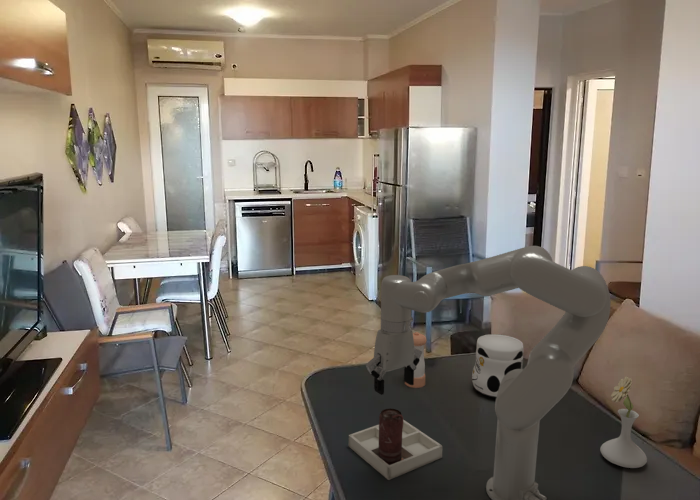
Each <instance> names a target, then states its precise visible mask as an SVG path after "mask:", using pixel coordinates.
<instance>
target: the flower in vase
mask: <svg viewBox="0 0 700 500" xmlns="http://www.w3.org/2000/svg"><path fill="white" fill-rule="evenodd" d="M632 381H633V379H632V377H630V378H629V376H624V378H621V379H619V382H618V383H617V385H616V386H614V387H613V390H614V391H612V393H611V395H610V398H611V401H612V402H614V403H619V402H621V401H622V400H623V399H624V400H623V405H624V407H625V408H620V409H618V410H617V414H618V415H619V416H620V419H621V431H620V435H619V436H618V437H615V438H612V439H609V440H607V441H605V442H604V443H602V444H601V445H600V449H599V451H600V453H601V456H602V457H604V459H606V460H607V461H608V462H610V463H612V464H614V465H617V466H620V467H623V468H626V469H627V468H628V469H629V468H630V469H638V468H642V467H643V466H645V465H646V464H647V463H648V457H647V455H646V453H645V452H644V451H643V449H642V448H640V446H638V445H637V444H636V443H635V442H634V441H633V439H632V438H631V432H632V427H633V424H634V422H635V421H636V420H637V419H638V418H639V417H640V415H639V413H638V412H637V411H635V410H633V409H634V405H633V403H632V401H631V399H630V396H629V393H630V390H631V389H632V385H633V382H632Z"/></svg>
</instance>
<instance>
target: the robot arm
mask: <svg viewBox="0 0 700 500" xmlns="http://www.w3.org/2000/svg"><path fill="white" fill-rule="evenodd" d="M517 289H520V290H521V291H522V292H523V293H524V292H525V293H526V294H527V295H530V296H532V297H533V298H536V299H538V300H539V301H541V302H544V303H546V304H549V305H550V306H553V307H555V308H557V309H558V310H561V311H563V312H564V313H563V316H561V318H560V319H559V320H558V321H557V323H556V324H555V325H554V326H553V328H552V329H550V331H548V332H547V334H546V335H545V336H544V337H543V338H541V340H539V342H538V343H537V344H535V346H533V348H532V349H531V351H530V352H529V356H528V360H527V363H526V365H525V367H524V368H522V369H515V370H512V371H510V372H508V373H507V374H506V375H505V376H504V377H503V379H502V381H501V383H500V386H499V390H498V394H497V397H496V398H495V403H494V411H495V414H496V418H497V423H496V434H495V436H496V437H495V448H494V462H493V463H494V465H493V476H491V477H490V478H489V479H488V480H487V482H486V484H485V488H486V489H485V490H486V493H487V496H488V497H489V499H491V500H547V496H545V495H543V494H542V493H540V490H539V483H537V481H535V478H536V467H537V456H538V446H539V445H538V443H539V436H540V435H539V434H540V422H541V420H542V419H543V418H544V417H545V416H546V415H547V414H548V413H549V412H550V411H551V410H552V409H553V408H554V407H555V406H556V404H558V403H559V402H560V401H561V400H562V399H563V397H565V396H566V394H568V391H569V390H570V388H571V386H572V385H573V382H574V373H575V372H574V371H575V367H576V365H577V364H578V362H579V361H580V360H581V359H582V358H583V357H584V356H585V355H586V353H588V351H589V350H590V349H591V347H592V346H594V344H595V343H596V342H597V340H598V339H599V338H600V337H601V335H602V334H603V332H604V331H605V329H606V326H607V324H608V322H609V319H610V313H611V305H612V304H611V293H610V291H609V288H608V284H607V283H606V280H605V278H604V277H603V275H602V274H601V272H599V271H598V270H597V269H596V268H594V267H591V266H588V265H579V266H577V267H575V268H573V269H570V268H567V267H566V266H563V265H560V264H559V263H556V262H554V261H553V258H552V255H551V254H550V252H548V251H547V249H545V248H544V247H541V246H538V245H529V246H524V247H520V248H517V249H515V250H511V251H507V252H504V253H500V254H496V255H494V256H490V257H487V258H483V259H479V260H476V261H470V262H468V263H467V262H466V263H462V264H456V265H453V266H449V267H446V268H443V269H442V268H441V269H438V270H435V271H432V272H430V273H427V274H425V275H423V276H422V277H420V278H419V279H418V280H416V281H412V279H410V278H409V277H408V276H405V275H399V274H391V275H390V274H389V275H386V276H384V277H383V278H382V280H381V288H380V291H381V292H380V329H378V330H377V333H376V335H375V336H376V337H375V342H374V351H373V358H371V359H370V360H369V361H368V362H366V364H365V367H366V369H367V372H368V373H369V374H370V375H371V376H372V377H373V378H374V380H373V386H374V387H373V389H374V392H376V393H378V395H381V396H382V395H384V394H385V380H384V377H385V374H387V372H391V371H395V370H398V369H402V368H404V369H403V371H404V372H403V382H404V383H405V382H406V383H408V384H410V385H414V370H416V366H417V364H418V363H419V361H420V360H419V358H420V357H421V354H422V351H420V350H418V349H416V348H414V339H413V333H414V332H413V329H412V328H411V323H412V322H413V321H414V318H413V316H412V311H414V312H418V313H423V314H424V313H426V314H427V313H430V312H432V311H433V310H435V309H436V308H437V307H438V306H439V304H440V303H441V301H442V300H445V299H449V298H452V297H456V296H460V295H465V294H477V295H479V296H482V297H490V296H494V295H497V294H502V293H503V292H505V293H506V292H508V291H513V290H517ZM406 366H407V367H406Z"/></svg>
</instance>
